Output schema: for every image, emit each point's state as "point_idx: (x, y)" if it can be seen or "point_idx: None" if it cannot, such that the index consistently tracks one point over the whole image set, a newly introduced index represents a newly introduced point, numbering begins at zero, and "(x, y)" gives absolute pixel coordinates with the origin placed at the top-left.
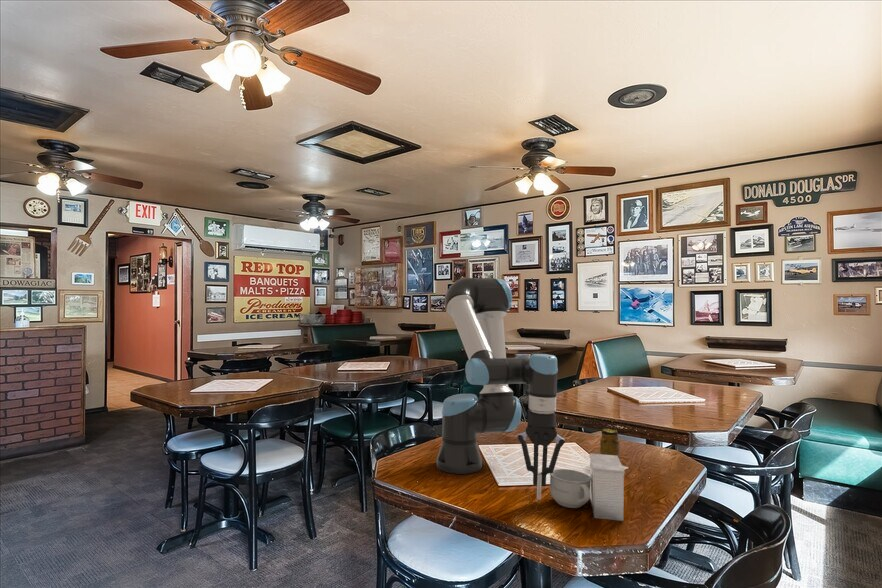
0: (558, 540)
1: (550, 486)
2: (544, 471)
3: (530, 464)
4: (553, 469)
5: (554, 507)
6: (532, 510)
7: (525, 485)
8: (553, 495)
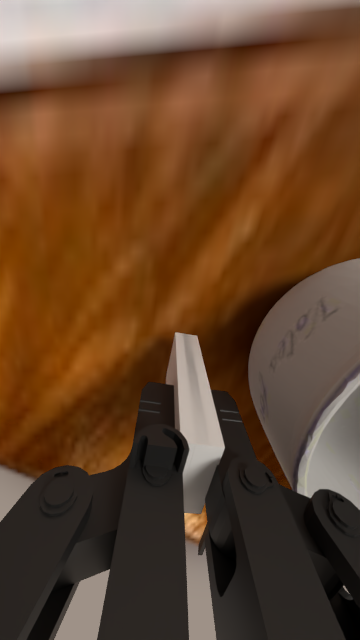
0: (191, 537)
1: (259, 391)
2: (233, 558)
3: (64, 545)
4: (339, 609)
5: (240, 376)
6: None
7: (133, 65)
8: (252, 399)
